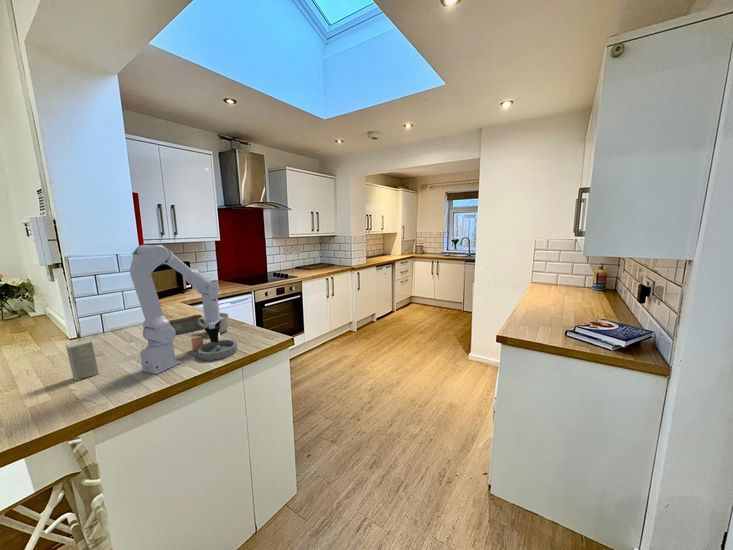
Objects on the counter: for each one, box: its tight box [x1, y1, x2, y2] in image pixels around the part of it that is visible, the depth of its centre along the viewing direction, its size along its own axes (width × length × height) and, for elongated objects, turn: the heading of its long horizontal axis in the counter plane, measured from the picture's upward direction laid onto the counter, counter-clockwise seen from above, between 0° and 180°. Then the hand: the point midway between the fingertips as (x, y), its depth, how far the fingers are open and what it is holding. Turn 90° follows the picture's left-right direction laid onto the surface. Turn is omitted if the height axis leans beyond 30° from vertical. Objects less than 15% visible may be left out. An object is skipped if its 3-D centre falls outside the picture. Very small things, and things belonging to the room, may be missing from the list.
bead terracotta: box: [190, 335, 204, 352], centre depth 121 cm, size 4×4×5 cm
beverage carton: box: [168, 314, 205, 336], centre depth 143 cm, size 8×19×7 cm, turn 130°
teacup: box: [197, 312, 230, 334], centre depth 141 cm, size 14×11×8 cm
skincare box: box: [65, 338, 100, 381], centre depth 100 cm, size 6×4×12 cm
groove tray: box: [196, 338, 238, 361], centre depth 117 cm, size 14×14×3 cm
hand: (215, 339), depth 125 cm, fingers open, 7 cm apart
